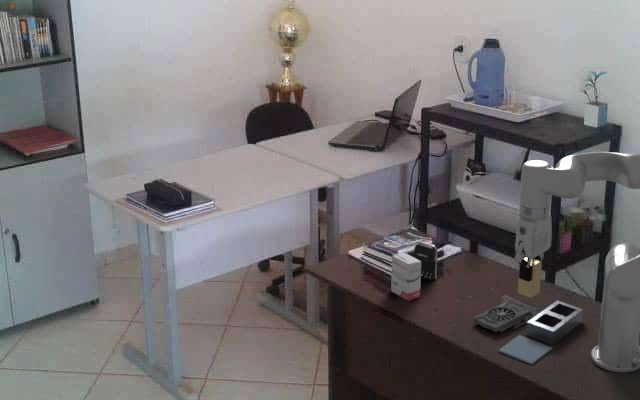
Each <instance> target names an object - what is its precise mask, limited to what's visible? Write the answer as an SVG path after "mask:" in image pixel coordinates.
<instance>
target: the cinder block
mask: <svg viewBox="0 0 640 400" xmlns="http://www.w3.org/2000/svg"><path fill="white" fill-rule="evenodd" d="M583 314H584V309H583V308H580V307H578V306H574V305H572V304H569V303H565V302H563V301H560V300H555V302H553V303H552V304H550V305H549V306H547V307H546V308H545V309H543V310H542V311H540V312H539V313H537V314H536V315H535V317H533V318H532V319H530V320H529V321H528V322H527V323H526V329H525V331H526V332H525V334H526V336H528V337H530V338H533V339H536V340H539V341H542V342H544V343H547V344H550V345H554V344H556V343H557V342H558V341H560V340H561V339H562V338H563V337H565V336H566V335H567V334H569V333H570V332H571V331H573V330H574V329H575V328H577V327H578V326H579V325H580V324H582V323H583V318H584V317H583V316H584V315H583Z"/></svg>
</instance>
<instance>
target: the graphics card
mask: <svg viewBox="0 0 640 400" xmlns="http://www.w3.org/2000/svg"><path fill="white" fill-rule="evenodd" d="M501 299H502V300H501V304H498V305H496V306H494V307H492V308H490V309H488V310H486V311H485V312H482V313H480V314H478V315H476V316H473V323H474V324H475V323H476V324H478V325H479V326H481V327H482V328H485V329H488V330H489V331H492V332H496V333H497V332H503V331H506V330H507V329H510V328H511V327H513V326H514V328H513V330H515V329H517V328H518V327H520V326H523V325H525V324H527V322H528V321H529V320H530V319H532V318H533V317H535V316H536V315H537V307H533V306H530V305H528V304H525V303H523V302H521V301H519V300H516V299H515V298H513V297H509V296H507V295H501Z"/></svg>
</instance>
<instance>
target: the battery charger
mask: <svg viewBox="0 0 640 400" xmlns="http://www.w3.org/2000/svg"><path fill="white" fill-rule="evenodd" d="M413 250H414V251H413V257H414V258H416V259H418V260H419V261H421V279H422V280H424V281H425V280H426V281H430V282H431V281H434V280H436V279H437V278H438V248H437V245H435V244H432V243H430V242H426V241H420V242H418V243H417V244H416V245H414V249H413Z"/></svg>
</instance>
